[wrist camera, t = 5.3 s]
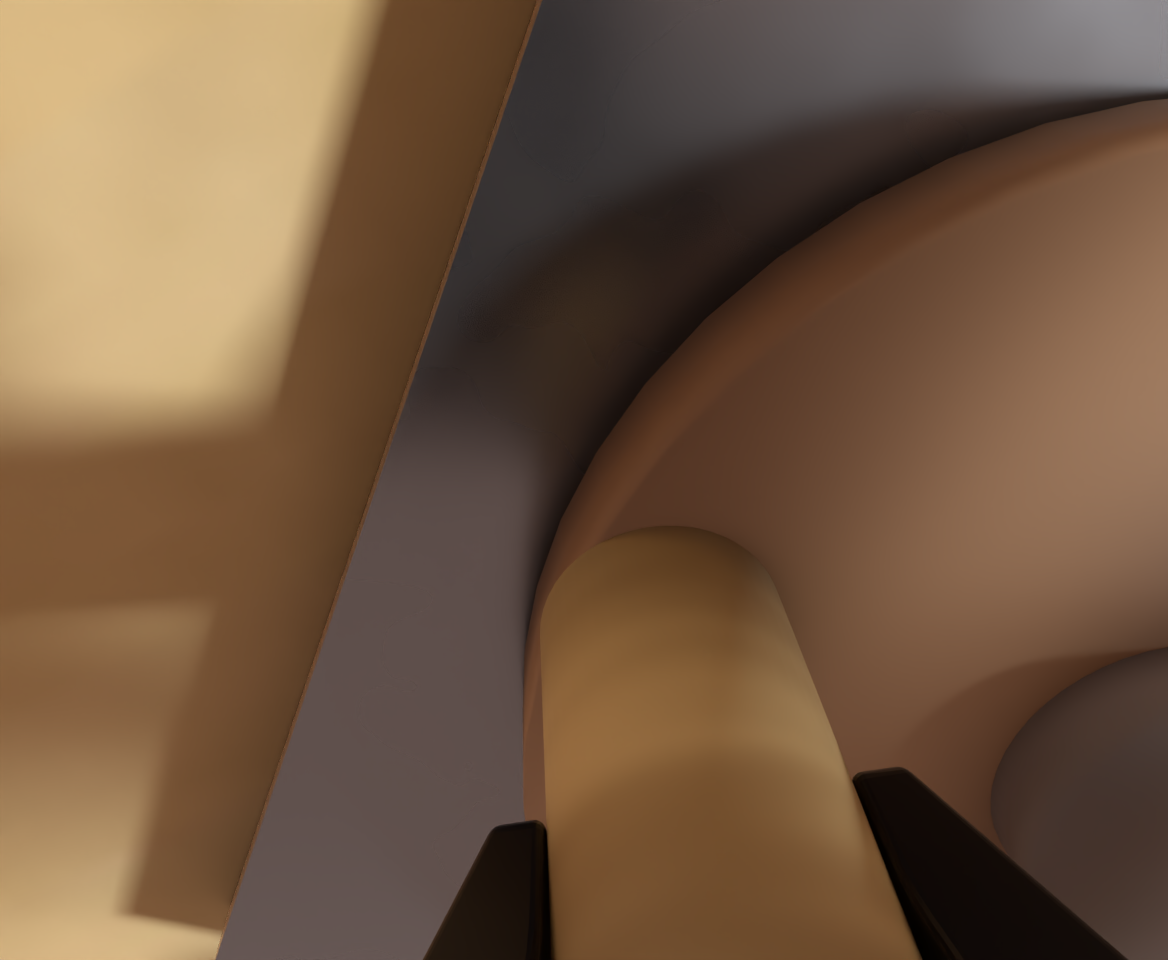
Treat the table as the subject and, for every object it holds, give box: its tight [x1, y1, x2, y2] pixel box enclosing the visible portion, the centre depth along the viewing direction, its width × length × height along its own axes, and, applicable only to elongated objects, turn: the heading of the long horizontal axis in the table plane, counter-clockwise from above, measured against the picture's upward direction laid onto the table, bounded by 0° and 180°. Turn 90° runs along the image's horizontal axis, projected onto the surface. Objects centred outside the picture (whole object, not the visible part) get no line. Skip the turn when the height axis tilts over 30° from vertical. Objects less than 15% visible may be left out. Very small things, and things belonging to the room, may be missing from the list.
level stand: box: [215, 0, 1168, 960], centre depth 12 cm, size 18×18×5 cm
